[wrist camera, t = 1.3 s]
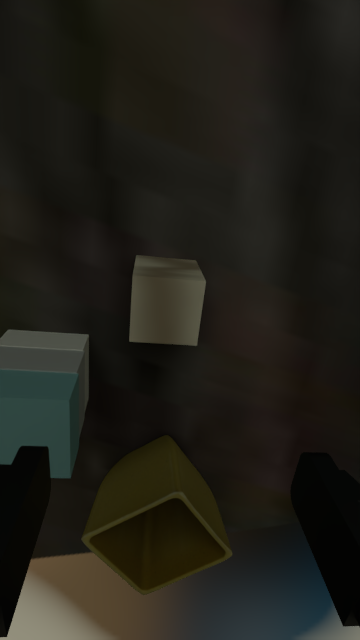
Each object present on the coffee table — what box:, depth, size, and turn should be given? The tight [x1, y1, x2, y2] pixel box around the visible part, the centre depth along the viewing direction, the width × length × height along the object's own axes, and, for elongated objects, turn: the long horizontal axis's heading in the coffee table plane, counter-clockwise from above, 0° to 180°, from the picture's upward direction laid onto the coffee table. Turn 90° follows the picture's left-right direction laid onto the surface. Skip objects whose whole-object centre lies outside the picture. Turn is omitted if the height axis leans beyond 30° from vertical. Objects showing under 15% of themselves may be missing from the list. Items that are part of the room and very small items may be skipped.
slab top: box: [0, 369, 79, 478], centre depth 23 cm, size 6×6×3 cm
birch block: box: [129, 255, 206, 346], centre depth 25 cm, size 5×5×6 cm
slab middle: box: [0, 346, 85, 437], centre depth 26 cm, size 6×6×3 cm
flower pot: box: [82, 435, 232, 595], centre depth 30 cm, size 9×9×9 cm
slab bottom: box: [0, 330, 89, 410], centre depth 28 cm, size 6×6×3 cm
